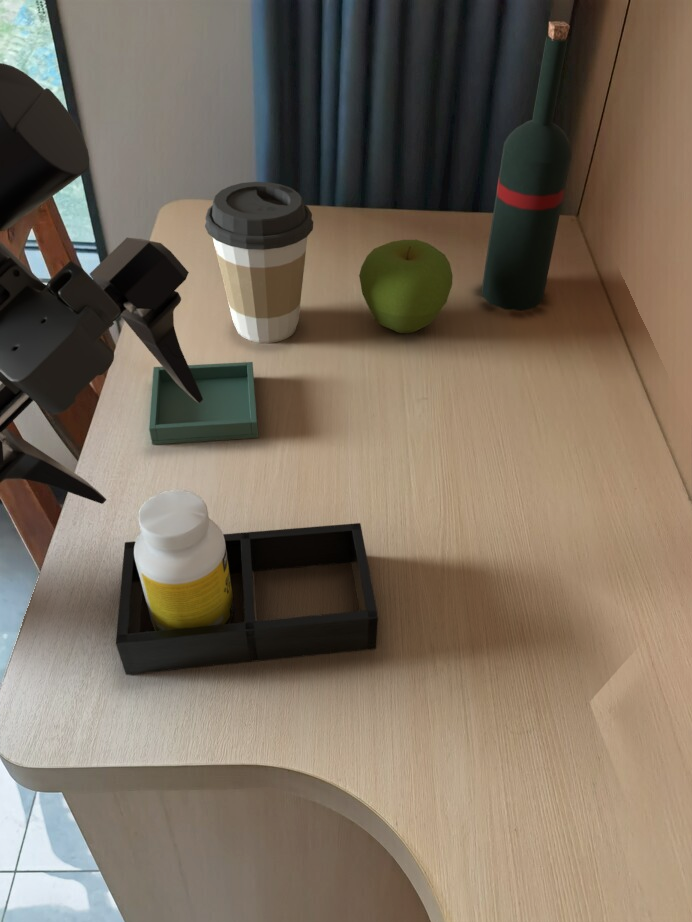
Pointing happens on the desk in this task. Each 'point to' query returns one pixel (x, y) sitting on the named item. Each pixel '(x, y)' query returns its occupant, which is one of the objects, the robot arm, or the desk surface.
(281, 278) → the coffee cup
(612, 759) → the desk surface
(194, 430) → the tray
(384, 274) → the apple
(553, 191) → the wine bottle
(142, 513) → the pill bottle
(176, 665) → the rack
